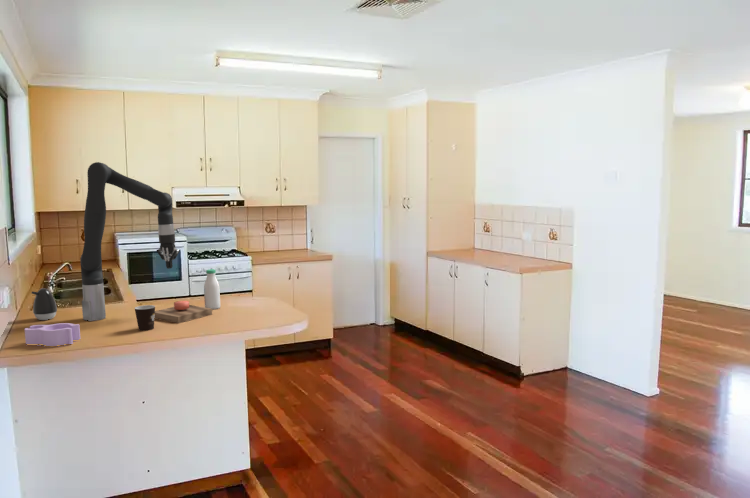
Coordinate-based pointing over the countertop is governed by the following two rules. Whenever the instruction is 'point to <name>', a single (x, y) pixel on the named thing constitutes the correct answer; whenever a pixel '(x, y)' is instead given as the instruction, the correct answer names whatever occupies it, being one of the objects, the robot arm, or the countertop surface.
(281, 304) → the countertop surface
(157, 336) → the countertop surface
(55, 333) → the purple low wavy piece
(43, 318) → the pump dispenser
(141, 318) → the coffee mug
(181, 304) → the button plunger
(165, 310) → the wooden cutting board
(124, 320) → the countertop surface
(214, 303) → the milk bottle
